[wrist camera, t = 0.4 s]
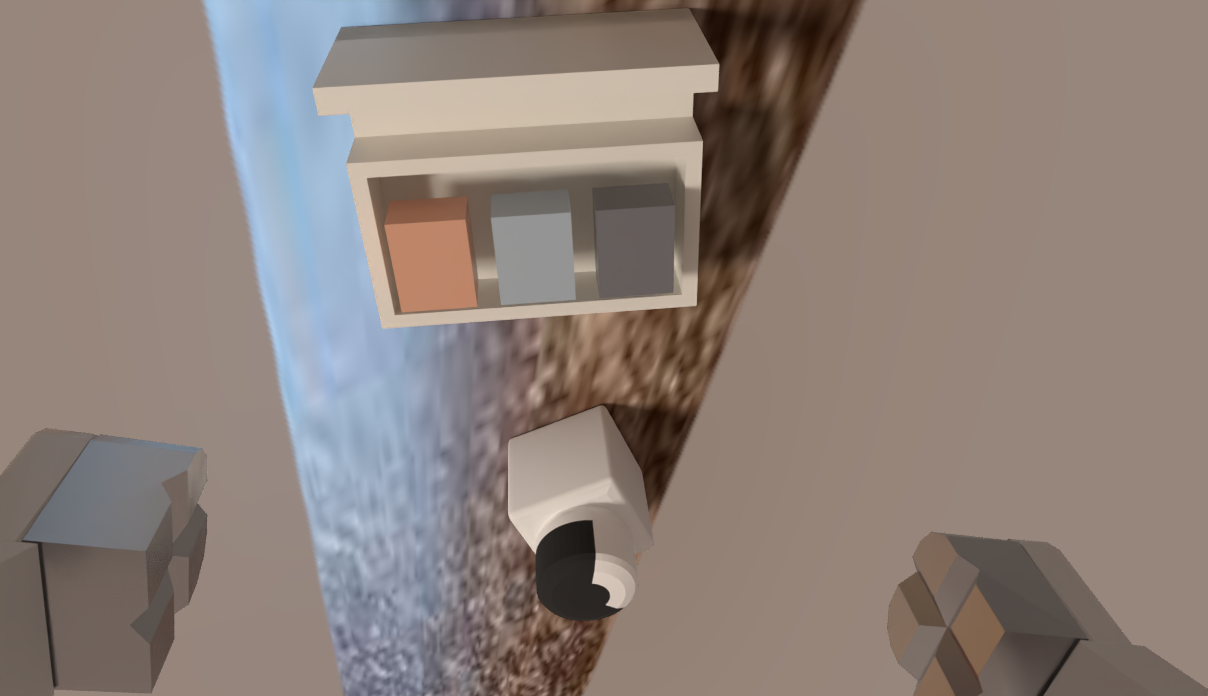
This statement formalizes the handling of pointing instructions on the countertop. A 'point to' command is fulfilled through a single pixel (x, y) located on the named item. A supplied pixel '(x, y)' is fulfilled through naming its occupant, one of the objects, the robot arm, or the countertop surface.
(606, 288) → the charcoal key
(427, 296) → the terracotta key
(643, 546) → the medicine bottle
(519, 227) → the slate key
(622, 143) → the cream open box
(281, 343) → the countertop surface
